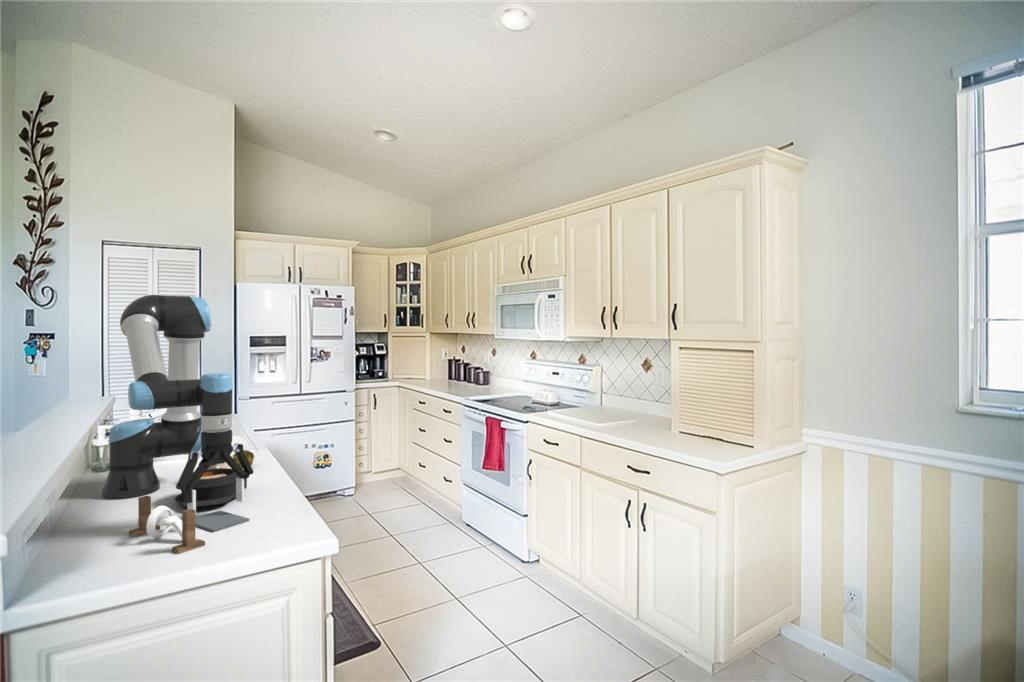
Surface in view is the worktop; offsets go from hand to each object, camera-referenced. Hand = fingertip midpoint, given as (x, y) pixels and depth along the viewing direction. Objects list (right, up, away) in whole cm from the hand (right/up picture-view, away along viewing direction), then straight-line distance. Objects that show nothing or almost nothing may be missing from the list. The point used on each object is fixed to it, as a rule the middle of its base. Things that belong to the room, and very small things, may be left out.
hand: (216, 507), depth 145 cm
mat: (0, -4, 0) cm, 4 cm away
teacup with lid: (-20, -4, +37) cm, 42 cm away
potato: (-23, -4, +53) cm, 58 cm away
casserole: (-13, -4, +19) cm, 24 cm away
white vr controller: (-7, -5, -13) cm, 15 cm away
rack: (-6, -4, -13) cm, 15 cm away
